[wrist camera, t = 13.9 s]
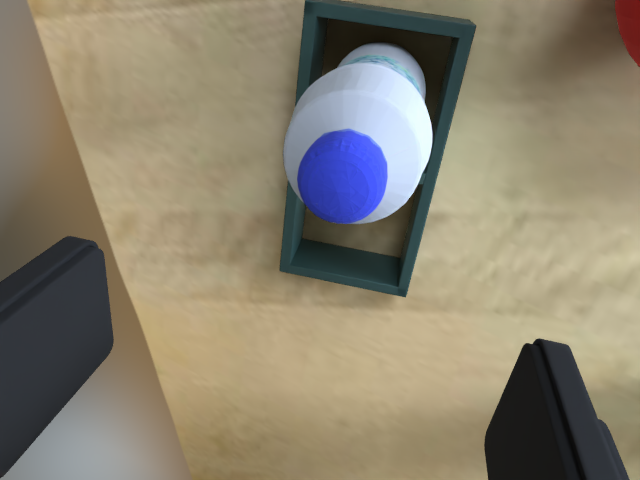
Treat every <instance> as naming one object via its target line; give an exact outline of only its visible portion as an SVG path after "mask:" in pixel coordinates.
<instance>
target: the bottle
mask: <svg viewBox="0 0 640 480" xmlns="http://www.w3.org/2000/svg"><path fill="white" fill-rule="evenodd" d="M425 95H426V85H425V79H424V74H423V71H422V69H421V67H420V66H419V64H418V63H417V61H416V60H415V58H414V57H413V56H412V55H411V54H410V53H409V52H408V51H407V50H405V49H404V48H403V47H401V46H399V45H396V44H392V43H386V42H373V43H368V44H364V45H362V46H360V47H358V48H356V49H355V50H353V51H352V52H350V53H349V54H348V55H347V56H346V57H345V58H344V59H343V60H342V61H341V63H340V64H339V66H338V67H337V68H336V69H334V70H332V71H330V72H328V73H327V74H325V75H324V76H322V77H321V78H319V79H318V80H316V81H315V82H314V83H313V84H312V85H311V86H310V87H308V89H307V90H306V91H305V92H304V94H303V95H302V96H301V98H300V99H299V101H298V103H297V105H296V107H295V109H294V112H293V115H292V119H291V122H290V125H289V128H288V130H287V133H286V136H285V140H284V148H283V160H284V168H285V171H286V175H287V178H288V180H289V182H290V184H291V186H292V188H293V190H294V191H295V193H296V194H297V196H298V197H299V198H300V200H301V201H302V202H303V203H304V204H305V205H306V206H307V207H308V209H309V210H310V211H312V212H313V213H314V214H315V215H316V216H318V217H319V218H321V219H323V220H325V221H328V222H334V223H337V224H340V223H342V224H363V223H370V222H374V221H377V220H380V219H382V218H385V217H387V216H389V215H391V214H392V213H394V212H395V211H396V210H398V209H399V208H400V207H401V206H403V205H404V204H405V203H406V201H407V200H408V199H409V198H410V197H411V195H412V194H413V193H414V191H415V189H416V187H417V185H418V183H419V181H420V178H421V175H422V173H423V171H424V169H425V167H426V165H427V162H428V159H429V157H430V153H431V148H432V126H431V121H430V117H429V114H428V111H427V108H426V105H425V103H424V102H425Z"/></svg>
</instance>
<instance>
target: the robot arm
mask: <svg viewBox="0 0 640 480" xmlns="http://www.w3.org/2000/svg"><path fill="white" fill-rule="evenodd" d="M112 346H113V331H112V323H111V313H110V304H109V295H108V287H107V278H106V268H105V259H104V253H103V251H102V250H101V249H99V248H98V246H97V244H96V243H95V242H94V241H90V240H86V239H81V238H77V237H72V236H68V237H65V238H63V239H62V240H60V241H59V242H57V243H56V244H55V245H53V246H52V247H50V248H49V249H47V250H46V251H45V252H43V253H42V254H40V255H39V256H37V257H36V258H34V259H33V260H31V261H30V262H29V263H27V264H26V265H24V266H23V267H22V268H20V269H18V270H17V271H16V272H14V273H13V274H11V275H10V276H9V277H7V278H6V279H4V280H3V281H1V282H0V478H1V477H3V476H4V475H5V474H6V473H7V472H8V471H9V469H10V468H11V467H12V466H13V465H14V464H15V463H16V461H17V460H18V459H19V458H20V457H21V456H22V454H23V453H24V452H25V451H26V450H27V448H29V446H30V445H31V444H32V443H33V442H34V441H35V439H36V438H37V437H38V436H39V435H40V433H42V431H43V430H44V429H45V428H46V427H47V426H48V424H49V423H50V422H51V421H52V420H53V419H54V417H55V416H56V415H57V414H58V413H59V412H60V411H61V409H62V408H63V407H64V406H65V405H66V404H67V402H68V401H69V400H70V399H71V398H72V397H73V395H74V394H75V393H76V392H77V391H78V390H79V389H80V387H81V386H82V385H83V384H84V383H85V382H86V381H87V379H88V378H89V377H90V376H91V375H92V374H93V372H94V371H95V370H96V369H97V368H98V367H99V366H100V364H101V363H102V362H103V361H104V360H105V359H106V357H107V356H108V355H109V353H110V351H111V349H112ZM484 446H485V456H486V464H487V473H488V480H630V479H629V477H628V475H627V472H626V470H625V467H624V465H623V462H622V460H621V457H620V455H619V453H618V450H617V448H616V445H615V443H614V440H613V438H612V435H611V433H610V431H609V429H608V427H607V425H606V424H605V423H604V422H603V421H602V420H600V419H598V418H597V415H596V413H595V410H594V408H593V405H592V403H591V400H590V397H589V395H588V392H587V390H586V387H585V385H584V382H583V380H582V377H581V375H580V372H579V369H578V367H577V364H576V362H575V359H574V357H573V354H572V352H571V349H570V347H569V346H568V345H566V344H562V343H557V342H553V341H548V340H544V339H536V340H535V341H534V343H533V344H529V343H526V344H525V345H524V346H523V348H522V350H521V352H520V355H519V357H518V359H517V362H516V364H515V366H514V369H513V371H512V373H511V375H510V378H509V380H508V382H507V385H506V387H505V389H504V392H503V394H502V396H501V399H500V401H499V403H498V406H497V408H496V410H495V413H494V415H493V417H492V419H491V422H490V424H489V426H488V429H487V431H486V435H485V444H484Z"/></svg>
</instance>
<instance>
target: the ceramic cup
mask: <svg viewBox="0 0 640 480" xmlns="http://www.w3.org/2000/svg"><path fill="white" fill-rule="evenodd" d="M615 11H616V17H617V22H618V27H619V32H620V35H621V37H622V39H623V42H624V44H625V46H626V48H627V51H628V53H629V55H630V56H631V57H632V58H633V60H634V61H635V62H636V63H637V65H638V66H639V67H640V0H615Z"/></svg>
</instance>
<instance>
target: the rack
mask: <svg viewBox="0 0 640 480" xmlns="http://www.w3.org/2000/svg"><path fill="white" fill-rule="evenodd" d="M328 18H330V19H336V20H343V21H350V22H356V23H363V24H369V25H376V26H383V27H389V28H396V29H403V30H409V31H416V32H422V33H429V34H436V35H442V36H449V37H453V40H452V44H451V48H450V52H449V56H448V60H447V65H446V69H445V73H444V77H443V81H442V85H441V90H440V94H439V98H438V102H437V106H436V110H435V115H434V119H433V123H432V148H431V153H430V157H429V159H428V162H427V165H426V167H425V169H424V171H423V173H422V175H421V178H420V181H419V183H418V185H417V190H416V194H415V198H414V202H413V206H412V210H411V215H410V219H409V223H408V227H407V231H406V235H405V240H404V244H403V248H402V252H401V256H400V258H397V257H392V256H387V255H382V254H377V253H372V252H367V251H362V250H357V249H352V248H347V247H342V246H337V245H332V244H327V243H322V242H317V241H312V240H307V239H302V236H303V227H304V219H305V210H306V205H305V204H304V203H303V202H302V201H301V200H300V198H299V197H298V196H297V194H296V193H295V191H294V190H293V188H292V186H291V184H290V182H289V180H288V186H287V197H286V207H285V218H284V228H283V239H282V249H281V260H280V271H281V272H286V273H291V274H296V275H301V276H305V277H310V278H315V279H320V280H325V281H329V282H334V283H339V284H344V285H349V286H354V287H358V288H363V289H368V290H373V291H378V292H382V293H387V294H392V295H397V296H402V297H406V295H407V291H408V287H409V284H410V280H411V276H412V272H413V268H414V264H415V260H416V257H417V253H418V249H419V245H420V241H421V237H422V233H423V230H424V226H425V222H426V218H427V214H428V210H429V206H430V203H431V199H432V195H433V191H434V187H435V183H436V179H437V176H438V172H439V168H440V164H441V160H442V156H443V152H444V149H445V145H446V141H447V137H448V133H449V129H450V126H451V122H452V118H453V114H454V110H455V106H456V102H457V99H458V95H459V91H460V87H461V83H462V79H463V75H464V72H465V68H466V64H467V60H468V56H469V52H470V48H471V45H472V41H473V37H474V33H475V29H476V25H475V24H474V23H473V22H471V21H470V20H468V19H461V18H455V17H448V16H441V15H434V14H427V13H421V12H414V11H407V10H400V9H393V8H386V7H380V6H373V5H366V4H359V3H352V2H346V1H339V0H305V7H304V18H303V29H302V39H301V50H300V60H299V71H298V81H297V92H296V102H295V107H296V105H297V103H298V101H299V99H300V98H301V96H302V95H303V94H304V92H305V91H306V90H307V89H308V87H310V86H311V85H312V84H313V83H314V82H315V81H316V80H318V79H319V78H321V75H322V67H323V58H324V50H325V41H326V33H327V24H328Z"/></svg>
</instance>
